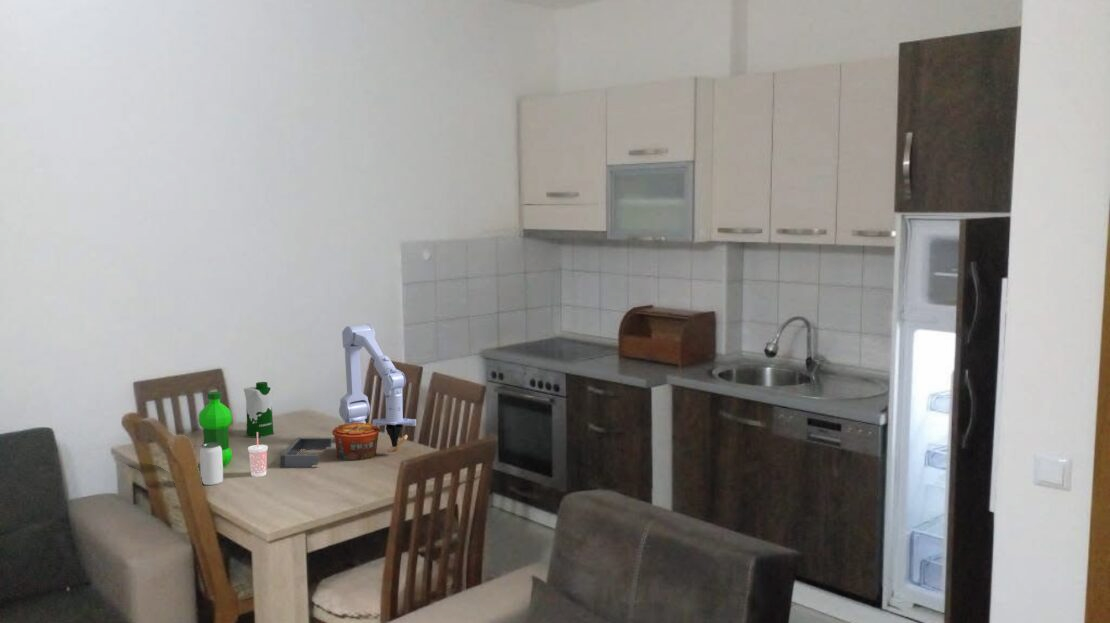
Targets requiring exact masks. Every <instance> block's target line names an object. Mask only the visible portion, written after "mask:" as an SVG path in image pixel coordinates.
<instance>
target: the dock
mask: <svg viewBox="0 0 1110 623" xmlns="http://www.w3.org/2000/svg"><path fill="white" fill-rule="evenodd" d="M332 442H333V441H332V437H297V438H295V440H294V441H293V442H292V443H290V445H289V446H288V447H287V448H286V449H285V450H283V452H282V453H281V454H280V455H279V460H280V462H279V464H280V466H279V467H280V469H282V468H287V469H289V468H292V469H294V468H295V469H296V468H297V469H299V468H301V469H302V468H303V469H304V468H306V469H307V468H309V469H310V468H311V469H312V468H314V469H315V468H316V469H317V468H318V466H317V465H319V454H299V453H300V451H310V450H309V449H325V450H326V449H327V448H332V444H333V443H332ZM301 449H302V450H301ZM303 449H305V450H303ZM298 452H299V453H298ZM297 453H298V454H297ZM296 454H297V455H296ZM293 467H294V468H293Z"/></svg>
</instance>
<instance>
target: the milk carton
mask: <svg viewBox="0 0 1110 623" xmlns="http://www.w3.org/2000/svg"><path fill="white" fill-rule="evenodd" d="M273 391H274V387H272V386H269V385H268V381H259V382H258V381H257V382H256V383H255V385H254V386H249V387H244V388H243V392H244V397H245V405H246V407H245V408H246V409H245V410H246V430H245V431H246V434H248V435H247V436H250V435H251V436H250V437H253V436H255V437H254V438H257V432H258V437H259V438H261V436H263V437H266V435H267V436H271V435H274V423H273V422H274V421H273ZM246 434H245V435H246ZM270 434H271V435H270Z"/></svg>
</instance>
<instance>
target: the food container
mask: <svg viewBox="0 0 1110 623" xmlns="http://www.w3.org/2000/svg"><path fill="white" fill-rule="evenodd" d="M380 432H381V428H380V427H379V425H376V426H373V422H366V424H365V423H351V424H345V423H343V424H340V425H338V426H336V427H334V429H333V430H332V432H331V433H332V435H333V437H334V442H335V449H336V457H337V459H340V460H342V461H347V462H352V461H353V462H357V461H365V460H369V459H373V458H375V457H376V456H377V449H378V442H379V441H378V439H379V433H380Z"/></svg>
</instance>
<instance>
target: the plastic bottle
mask: <svg viewBox="0 0 1110 623" xmlns="http://www.w3.org/2000/svg"><path fill="white" fill-rule="evenodd" d="M221 399H222V391H219V390H217V391H215V390H213V391H209V392H207V400H209V403H208V404H206V405H205V407H203V408H202V409H201V410H200V411H199V414H198V423H199V426H200V427H201V428H202V429H203V430H202V431H203V444H206V443H220V446H221V448H222V460H223V469H224V468H226V466H228V464H230V462H231V461H232V458H233V451H232V449H231V447H230V440H229V426H230V425H231V424H232V421H233V418H232V416H233V415H232V411H231V410H230V408H228V407H227V406H226V405H225V404H224V403H222V402H221Z"/></svg>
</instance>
